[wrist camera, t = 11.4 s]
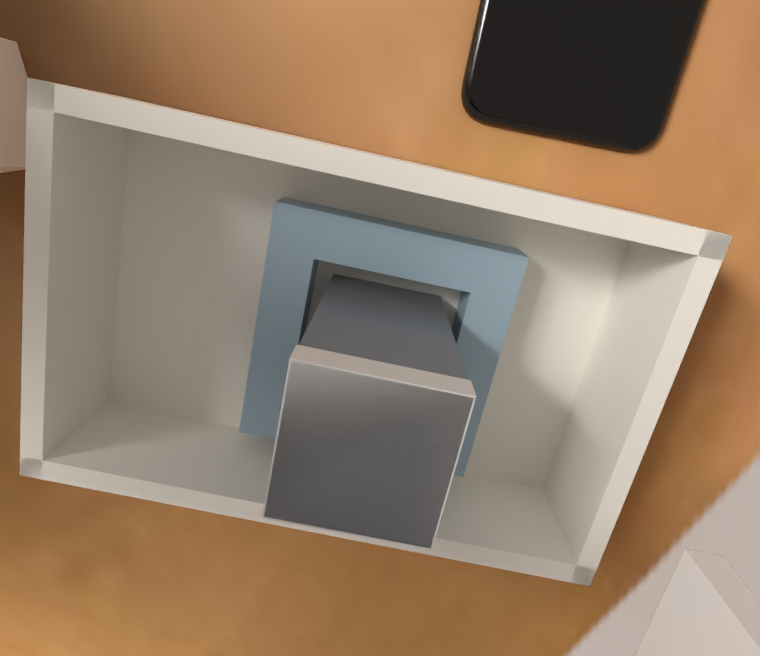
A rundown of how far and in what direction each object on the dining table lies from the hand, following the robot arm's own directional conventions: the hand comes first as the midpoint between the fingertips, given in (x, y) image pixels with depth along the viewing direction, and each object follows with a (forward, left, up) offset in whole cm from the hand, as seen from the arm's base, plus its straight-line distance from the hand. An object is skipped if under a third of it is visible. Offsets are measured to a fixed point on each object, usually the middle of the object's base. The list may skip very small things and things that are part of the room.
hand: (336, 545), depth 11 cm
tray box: (-1, 0, -14) cm, 14 cm away
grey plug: (0, 0, -14) cm, 14 cm away
